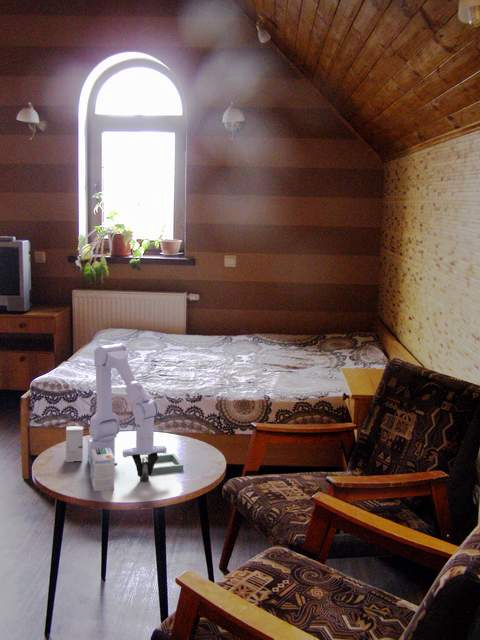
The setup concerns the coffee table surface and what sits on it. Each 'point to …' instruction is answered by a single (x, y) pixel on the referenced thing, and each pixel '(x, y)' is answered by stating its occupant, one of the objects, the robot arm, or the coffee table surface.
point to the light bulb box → (102, 469)
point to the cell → (144, 471)
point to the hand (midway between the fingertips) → (144, 475)
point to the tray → (166, 468)
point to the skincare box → (74, 443)
